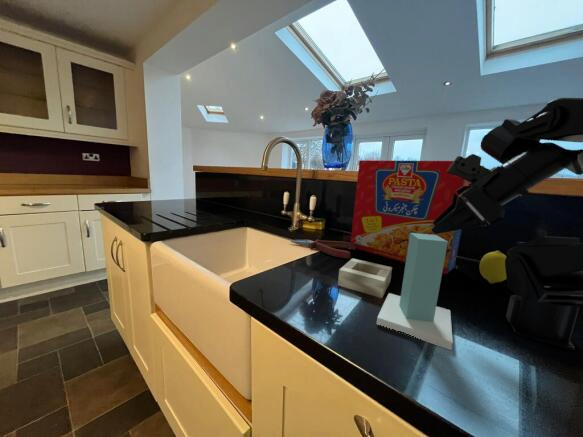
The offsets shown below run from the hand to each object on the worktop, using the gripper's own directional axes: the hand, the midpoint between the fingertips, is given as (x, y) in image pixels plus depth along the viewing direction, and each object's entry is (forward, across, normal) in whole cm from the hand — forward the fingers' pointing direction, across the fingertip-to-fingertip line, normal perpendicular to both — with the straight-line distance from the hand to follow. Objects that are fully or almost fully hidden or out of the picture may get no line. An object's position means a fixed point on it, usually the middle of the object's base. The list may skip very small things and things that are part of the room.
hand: (433, 227), depth 49 cm
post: (+9, +13, +8) cm, 18 cm away
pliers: (+30, -15, -10) cm, 35 cm away
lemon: (0, -15, +19) cm, 24 cm away
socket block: (+17, +4, +2) cm, 18 cm away
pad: (+10, +13, +9) cm, 19 cm away
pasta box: (+15, -22, +4) cm, 27 cm away
